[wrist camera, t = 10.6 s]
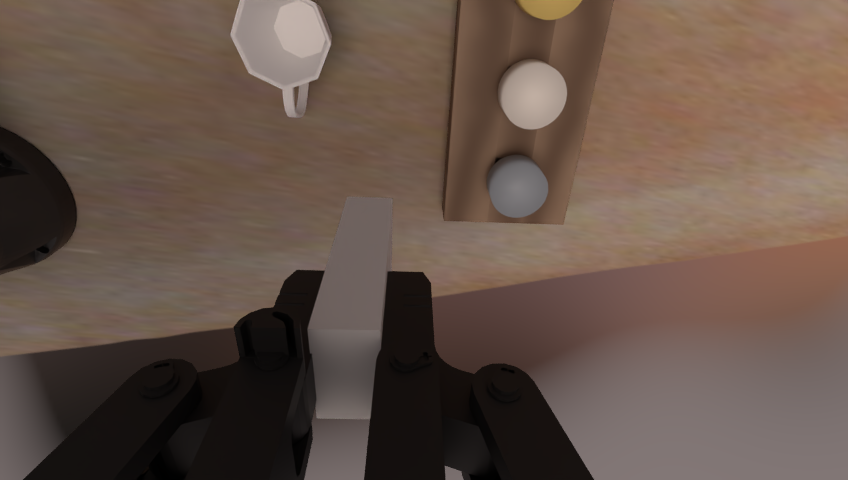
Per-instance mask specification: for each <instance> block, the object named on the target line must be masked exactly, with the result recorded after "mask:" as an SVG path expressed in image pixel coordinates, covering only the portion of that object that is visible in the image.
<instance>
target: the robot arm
mask: <svg viewBox="0 0 848 480" xmlns="http://www.w3.org/2000/svg"><path fill="white" fill-rule="evenodd" d="M392 205H393V198H375V197H347V199H346V202H345V206H344V209H343V212H342V215H341V219H340V222H339V225H338V229H337V232H336V235H335V239H334V242H333V245H332V249H331V252H330V255H329V259H328V262H327V265H326V269H325V271H315V270H296V271H295V272H294V273H293V274H292V275H290V276H289V277H288V278H287V279H286V280H285V281H284V283H283V286H282V288H281V290H280V294H279V295H278V297H277V300H276V302H275V305H274V307H273V308H263V309H260V310H257V311H254V312H251V313H249V314H247V315H246V316H244V317H243V318H241V319H240V320H239V321H238V322H237V324H236V325H235V326H234V331H235V336H236V341H237V346H238V351H239V355H240V358H239V361H238V362H236V363H233V364H231V365H228V366H225V367H221V368H217V369H212V370H208V371H203V372H198V373H197V370H196V369H195V367H194V366H193V364H192V363H190V362H187V361H185V360H183V359H167V360H162V361H157V362H154V363H152V364H150V365H148V366H145V367H143V368H141V369H140V370H139V371H137V372H136V373H135V374H133V375H132V376H131V377H130V378H129V379H127V380H126V382H124V383H123V384H122V385H121V386H120V387H119V388H118V389H117V390H116V391H115V392H114V393H113V394H112V395H111V396H110V397H109V398H108V399H107V400H106V401H105V402H104V403H102V404H101V405H100V406H99V407H98V408H97V409H96V410H95V411H94V412H93V413H92V414H91V415H90V416H89V417H88V418H87V419H86V420H85V421H84V422H83V423H82V424H81V425H80V426H78V427H77V428H76V430H74V431H73V432H72V433H71V434H70V435H69V436H68V437H67V438H66V439H65V440H64V441H63V442H62V443H61V444H60V445H59V446H58V447H57V448H56V449H55V450H54V451H52V452H51V454H49V455H48V456H47V457H46V458H45V459H44V460H43V461H42V462H41V463H40V464H39V465H38V466H37V467H36V468H35V469H34V470H33V471H32V472H31V473H29V475H27V476H26V477H25V478H24V479H23V480H304V477H305V472H306V467H307V463H308V458H309V453H310V449H311V444H312V440H313V437H312V423H311V422H312V418H313V413H314V409H315V407H316V417H317V418H329V419H335V418H336V419H370V426H369V436H368V446H367V456H366V466H365V477H364V480H445V466H448V467H451V468H454V469H457V470H460V471H462V476H463V479H464V480H594V479H593V477H592V476H591V474H590V472H589V471H588V469H587V468H586V466H585V464H584V463H583V461H582V459H581V458H580V456H579V454H578V453H577V451H576V450H575V448H574V446H573V445H572V443H571V441H570V440H569V438H568V436H567V435H566V433H565V432H564V430H563V428H562V426H561V425H560V424H559V422H558V420H557V418H556V417H555V415H554V413H553V412H552V410H551V408H550V407H549V405H548V404H547V402H546V400H545V399H544V397H543V395H542V394H541V392H540V390H539V389H538V387H537V386H536V384H535V382H534V381H533V380H532V379H531V378H530V377H529V375H528V374H526V373H525V372H524V371H522V370H520V369H519V368H517V367H514V366H511V365H507V364H490V365H487V366H484V367H482V368H481V369H480V370H478V371H477V372H476V373H475V374H472V373H469V372H465V371H461V370H458V369H456V368H454V367H452V366H450V365H449V364H447V363H445V362H444V361H443V360H442V359H441V358H440V357H439V355H438V353H437V352H436V349H435V345H434V330H433V314H432V313H433V312H432V298H431V296H432V295H431V283H430V281H429V280H428V279H427V277H426V276H425V275H424V273H423V272H397V271H391V268H392ZM75 222H76V210H75V204H74V201H73V197H72V195H71V192H70V190H69V188H68V186H67V184H66V182H65V181H64V179H63V178H62V176H61V175H60V173H59V172H58V171H57V169H56V168H55V167H54V166H53V165H52V163H51V162H50V161H49V160H48V159H47V158H46V157H45V156H44V155H43V154H41V153H40V152H39V151H38V150H37V149H35V148H34V147H33V146H32V145H30V144H29V143H27V142H26V141H24V140H23V139H21V138H20V137H18V136H16V135H15V134H13V133H11V132H9V131H7V130H5V129H2V128H0V275H1V274H4V273H7V272H11V271H14V270H17V269H20V268H23V267H27V266H30V265H33V264H36V263H38V262H40V261H42V260H44V259H46V258H47V257H49V256H50V255H51V254H53V253H54V252H55V251H57V250H58V249H59V248H61V247H62V246H63V245H64V244H65V243H66V242H67V241H68V240H69V238H70V237H71V235H72V233H73V230H74V227H75Z"/></svg>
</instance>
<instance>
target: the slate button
mask: <svg viewBox="0 0 848 480" xmlns="http://www.w3.org/2000/svg"><path fill="white" fill-rule="evenodd" d="M487 189H488V192H489V195H490V198H491V201H492V203H493V205H494V207H495V208H496V209H497V210H498V211H499V212H500V213H501V214H503V215H505V216H508V217H513V218H519V217H525V216H528V215H530V214H532V213H534V212H535V211H537V210H538V209H539V208H540V207H541V206H542V205H543V203H544V202H545V200H546V197H547V194H548V182H547V179H546V177H545V176H544V174H543V173H542V171H541V170H540V168H539V167H538V165H537V164H536V163H535V162H534V161H533V160H532V159H531V158H529V157H526V156H523V155H510V156H507V157H504V158H502V159H500V160H499V161H498V162H496V163H495V164H494V165H493V167H492V168H491V170H490V171H489V173H488V176H487Z"/></svg>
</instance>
